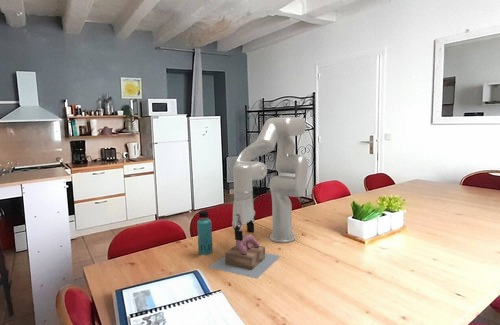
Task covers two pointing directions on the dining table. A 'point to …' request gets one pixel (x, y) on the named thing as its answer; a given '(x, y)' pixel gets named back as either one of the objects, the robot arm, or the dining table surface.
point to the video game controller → (248, 240)
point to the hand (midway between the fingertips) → (244, 236)
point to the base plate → (246, 272)
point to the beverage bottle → (204, 234)
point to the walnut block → (245, 257)
